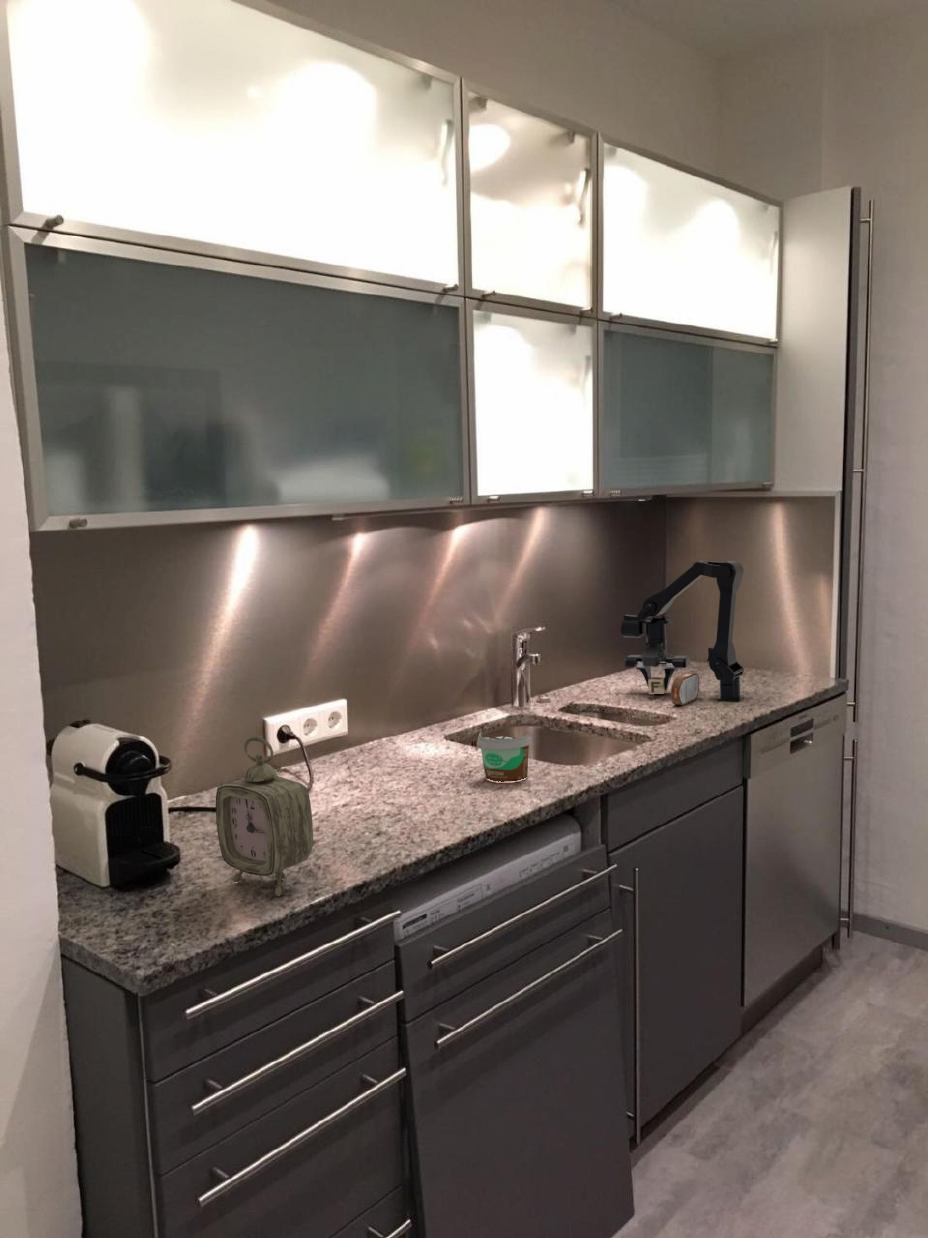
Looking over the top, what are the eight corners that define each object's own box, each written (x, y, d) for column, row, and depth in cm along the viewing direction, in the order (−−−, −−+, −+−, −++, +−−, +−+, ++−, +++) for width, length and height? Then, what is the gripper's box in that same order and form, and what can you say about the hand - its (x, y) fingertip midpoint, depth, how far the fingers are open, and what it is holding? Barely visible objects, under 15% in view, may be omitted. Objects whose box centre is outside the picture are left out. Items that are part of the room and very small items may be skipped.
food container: (470, 784, 220) (468, 739, 219) (480, 776, 226) (478, 732, 224) (524, 787, 215) (522, 741, 214) (533, 779, 221) (531, 734, 220)
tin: (691, 697, 297) (690, 669, 296) (701, 698, 295) (701, 669, 294) (670, 707, 285) (669, 678, 284) (680, 708, 283) (679, 678, 282)
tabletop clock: (221, 885, 168) (208, 738, 166) (264, 868, 175) (252, 726, 172) (279, 903, 159) (266, 748, 156) (321, 884, 166) (310, 735, 163)
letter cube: (653, 691, 307) (652, 676, 306) (667, 691, 305) (667, 676, 304) (648, 694, 303) (648, 679, 302) (663, 694, 301) (662, 679, 300)
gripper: (617, 641, 299) (619, 693, 301) (680, 642, 291) (682, 696, 293) (629, 636, 309) (631, 686, 311) (689, 636, 301) (691, 688, 302)
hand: (658, 689), depth 304 cm, fingers closed on letter cube, 4 cm apart
